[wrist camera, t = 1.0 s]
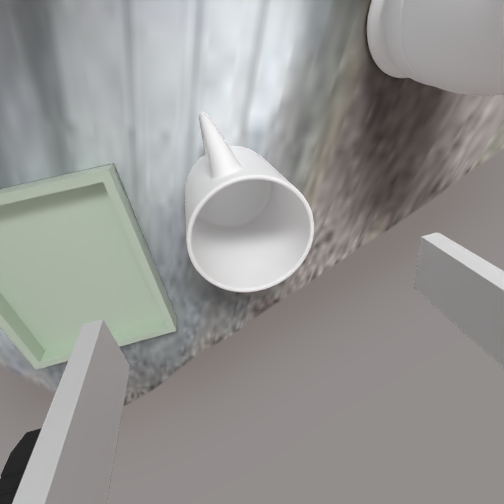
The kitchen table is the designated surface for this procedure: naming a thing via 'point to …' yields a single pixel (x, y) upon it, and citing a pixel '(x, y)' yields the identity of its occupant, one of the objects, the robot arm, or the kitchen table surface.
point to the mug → (243, 217)
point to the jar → (440, 43)
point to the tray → (76, 266)
